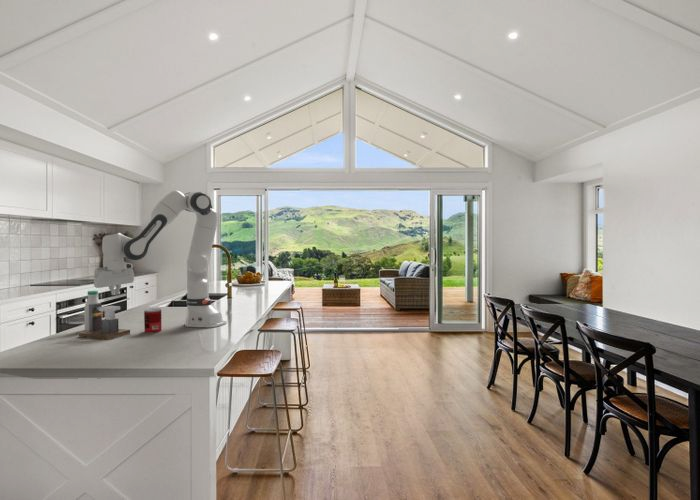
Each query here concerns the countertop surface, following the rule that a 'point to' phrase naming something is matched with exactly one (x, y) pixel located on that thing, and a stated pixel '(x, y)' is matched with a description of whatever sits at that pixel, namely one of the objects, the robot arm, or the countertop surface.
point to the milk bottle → (91, 300)
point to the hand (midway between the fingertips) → (115, 294)
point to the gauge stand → (102, 326)
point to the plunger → (109, 311)
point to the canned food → (152, 320)
